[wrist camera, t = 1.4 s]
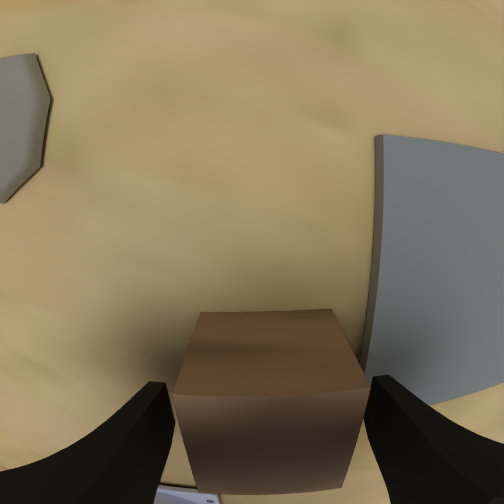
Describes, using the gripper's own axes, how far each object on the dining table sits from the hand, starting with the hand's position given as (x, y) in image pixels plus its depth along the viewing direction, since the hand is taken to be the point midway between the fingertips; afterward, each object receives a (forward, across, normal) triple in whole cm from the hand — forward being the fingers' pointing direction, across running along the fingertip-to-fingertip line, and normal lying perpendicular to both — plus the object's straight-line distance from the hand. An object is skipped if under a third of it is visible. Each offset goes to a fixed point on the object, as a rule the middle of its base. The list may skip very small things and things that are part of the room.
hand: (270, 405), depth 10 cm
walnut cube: (+3, 0, 0) cm, 3 cm away
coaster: (+3, -10, -3) cm, 11 cm away
